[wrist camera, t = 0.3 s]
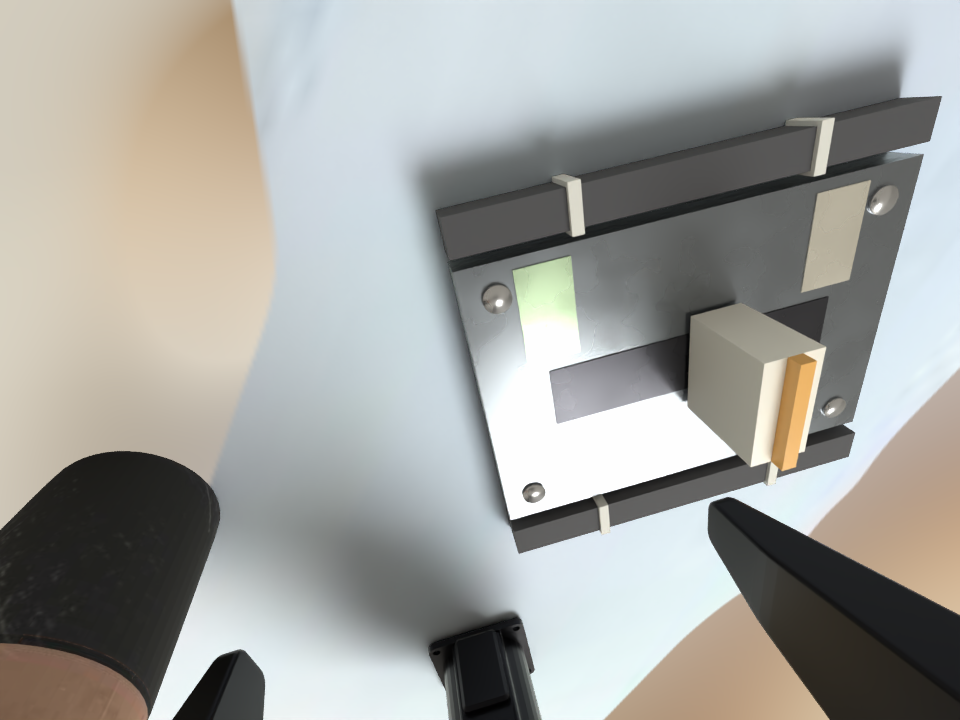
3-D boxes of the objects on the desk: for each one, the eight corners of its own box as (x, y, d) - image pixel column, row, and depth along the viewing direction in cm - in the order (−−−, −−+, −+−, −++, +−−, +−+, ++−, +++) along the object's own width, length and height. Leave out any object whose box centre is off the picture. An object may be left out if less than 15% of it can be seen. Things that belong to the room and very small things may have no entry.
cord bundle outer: (890, 144, 20) (933, 146, 18) (446, 254, 19) (451, 267, 17) (902, 92, 19) (949, 90, 17) (434, 204, 18) (438, 213, 16)
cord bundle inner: (822, 440, 28) (850, 461, 26) (511, 530, 27) (520, 559, 25) (828, 411, 27) (859, 432, 25) (505, 504, 26) (514, 532, 24)
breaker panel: (830, 406, 27) (855, 422, 25) (504, 499, 26) (511, 522, 24) (888, 151, 20) (927, 154, 19) (447, 261, 19) (453, 273, 17)
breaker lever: (732, 394, 23) (816, 460, 18) (687, 406, 23) (761, 477, 18) (741, 302, 20) (841, 354, 16) (690, 316, 20) (777, 371, 16)
